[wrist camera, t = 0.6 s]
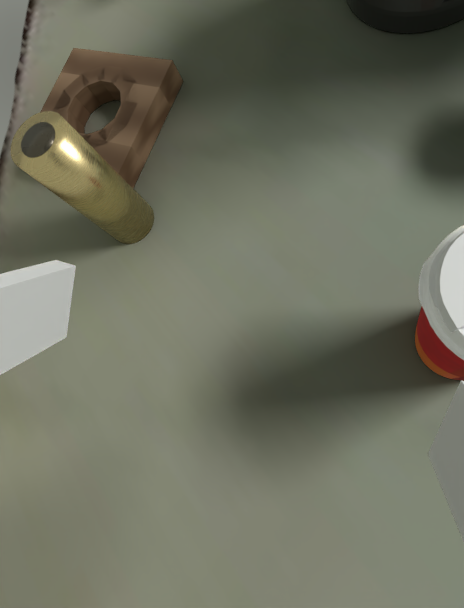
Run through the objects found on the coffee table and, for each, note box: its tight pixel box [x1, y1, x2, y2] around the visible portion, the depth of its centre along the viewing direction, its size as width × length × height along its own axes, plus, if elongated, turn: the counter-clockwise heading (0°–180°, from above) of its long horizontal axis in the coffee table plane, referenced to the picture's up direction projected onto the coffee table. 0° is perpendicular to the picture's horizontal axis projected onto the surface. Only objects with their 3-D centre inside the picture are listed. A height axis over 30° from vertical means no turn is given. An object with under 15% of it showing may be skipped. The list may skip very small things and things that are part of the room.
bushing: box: [11, 111, 154, 244], centre depth 38 cm, size 5×5×14 cm
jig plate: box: [41, 48, 183, 188], centre depth 48 cm, size 14×14×3 cm
